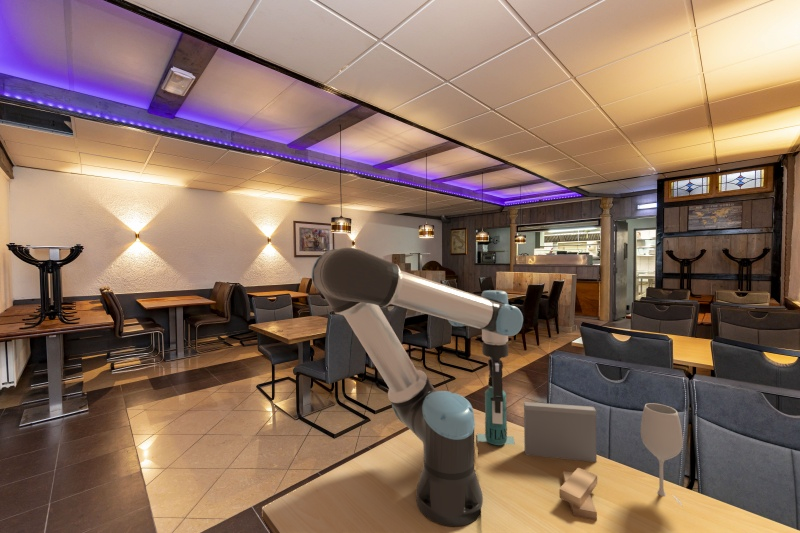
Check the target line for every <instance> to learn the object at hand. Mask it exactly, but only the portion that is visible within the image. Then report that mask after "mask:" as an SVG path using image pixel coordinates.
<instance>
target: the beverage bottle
mask: <svg viewBox="0 0 800 533" xmlns="http://www.w3.org/2000/svg"><path fill="white" fill-rule="evenodd" d="M487 385H488V386H489V388H487V389H486V390H485V391H484V407H485V411H484V412H485V418H484V420H485V422H484V426H485V427H484V434H485V437H486V440H487V441H488V442H487V443H489V444H491V445H494V446H502V445H506V444H505V443H506V441H507V436H508V421H507V412H508V409H507V408H508V405H507V393H506V392H505V391H504V390H503V424H495V423H493V422H492V401H490V398H493V388H492V377H490V378H489V377H488V384H487ZM490 386H491V388H490ZM502 387H503V383H502ZM496 397H500V396H496Z"/></svg>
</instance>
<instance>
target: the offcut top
mask: <svg viewBox="0 0 800 533" xmlns="http://www.w3.org/2000/svg"><path fill="white" fill-rule="evenodd" d="M597 485H598V475H597V474H595V473H594V472H593V473H592V472H590V471H588V470H585V469H583V468H580V467H577V468H576V470H574V471H573V474H572V475H571V476H570V477H569V478H568V480H567V481H566V482H565V483H564V482H563V484H562V485H561V486H560V488H559V490H558V491H559V492H558V493H559V498H560V499H561V500H563V501H565V502H567V503H569V504H570V503H571V504H573V505H575V506H577V507H579V508H580V507H581V506H582V505H583V503H584V502H585V500H586V499H587V498H588V496H589V495H590V496H591V494H592V492H594V489H595V488H596V487H597Z"/></svg>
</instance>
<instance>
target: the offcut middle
mask: <svg viewBox="0 0 800 533" xmlns="http://www.w3.org/2000/svg"><path fill="white" fill-rule="evenodd" d="M573 473H574V471H573V472H572V471H566V470H562V480H563V484H564V483H565V482H566V481H567V480H568V478H569V477H570V476H571V475H572V474H573ZM569 505H570V506H569V507H570V509H571V512H572V515H573V517H577V518H583V519H588V520H593V521H598V511H597V510H596V507H595V504H594V501H593V498H592V495H591V494H590V495H589V496H588V498H587V499H586V500H585V502H584V503H583V505H582V506H581V507H580V508H579V507H577V506H575V505H573V504H571V503H569Z"/></svg>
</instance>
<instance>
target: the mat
mask: <svg viewBox="0 0 800 533" xmlns="http://www.w3.org/2000/svg"><path fill="white" fill-rule="evenodd" d="M476 439H477V442H483V443H489V442H488V441H487V440H486V437H485V433H477V434H476ZM504 445H513V446H514V445H516V443H515V439H514V436H510V435H507V441H506V443H505V444H504ZM477 454H478V455H479V452H477Z"/></svg>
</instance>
